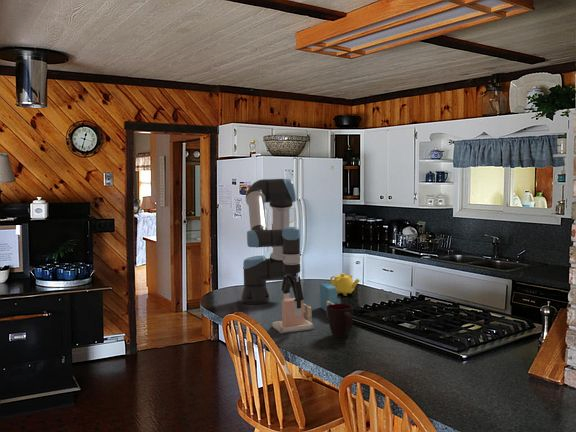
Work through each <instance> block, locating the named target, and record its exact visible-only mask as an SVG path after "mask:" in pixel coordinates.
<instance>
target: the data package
mask: <svg viewBox="0 0 576 432" xmlns="http://www.w3.org/2000/svg"><path fill="white" fill-rule="evenodd" d="M319 292H320V293H319V295H320V296H319V297H320V299H319V301H320V308H321V309H322V310H324V311H325V312H326V313H327V301H330V302H332V303H334V304H338V295H337V288H336V287H335V286H333V285H331V283H321V284H320V286H319Z"/></svg>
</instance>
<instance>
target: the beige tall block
mask: <svg viewBox="0 0 576 432" xmlns="http://www.w3.org/2000/svg"><path fill="white" fill-rule="evenodd" d="M294 300H295V297H290V298H287V299H284V298H281V321H282V326H283V327H292V326H300V325H304V319H303V304H304V299H303V300H301V316H295V301H294Z"/></svg>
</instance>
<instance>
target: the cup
mask: <svg viewBox="0 0 576 432" xmlns="http://www.w3.org/2000/svg"><path fill="white" fill-rule="evenodd" d="M353 313H354V307H353V306H352V305H350V304H348V303H337V304H332V305H328V306H327V312H326V316H327V315H328V316H327V319H328V320H327V321H328V325H329V329H330V332H331V335H332V336H333V337H335V338H346V337H348V336H349V333H350V331H352V328H353V316H354V315H353Z"/></svg>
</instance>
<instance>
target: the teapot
mask: <svg viewBox="0 0 576 432" xmlns="http://www.w3.org/2000/svg"><path fill="white" fill-rule="evenodd" d="M333 278H334V279H333ZM352 279H353V275H350V274H348V275H346V274H345V272H343V273H342V272H341V273H340V275H332V276H331V277H330V280H329V281H330V284H331V285H333V286H335V287H336V288H337V296H338V295H339V294H342V295H343V297H345V296H348V295H350V294H352V293H353V291H354V290H355V288H356V286H357V285H358V283H359V282H360V279H358V278H356V279H355V281H354V280H352Z"/></svg>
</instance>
